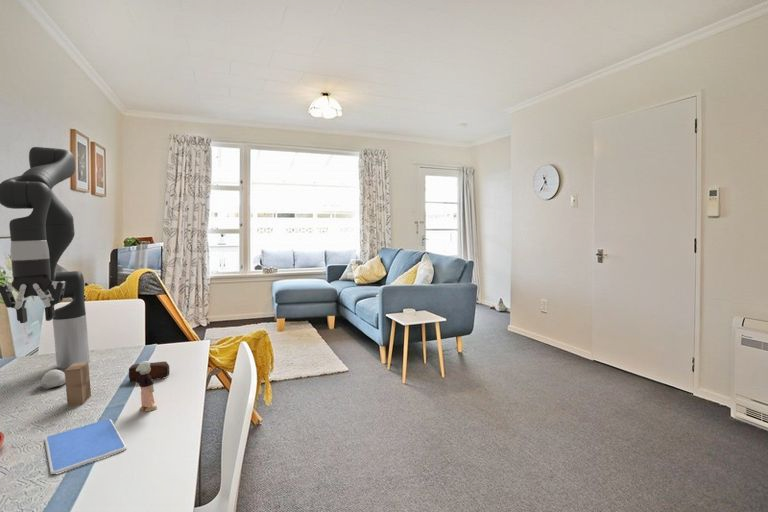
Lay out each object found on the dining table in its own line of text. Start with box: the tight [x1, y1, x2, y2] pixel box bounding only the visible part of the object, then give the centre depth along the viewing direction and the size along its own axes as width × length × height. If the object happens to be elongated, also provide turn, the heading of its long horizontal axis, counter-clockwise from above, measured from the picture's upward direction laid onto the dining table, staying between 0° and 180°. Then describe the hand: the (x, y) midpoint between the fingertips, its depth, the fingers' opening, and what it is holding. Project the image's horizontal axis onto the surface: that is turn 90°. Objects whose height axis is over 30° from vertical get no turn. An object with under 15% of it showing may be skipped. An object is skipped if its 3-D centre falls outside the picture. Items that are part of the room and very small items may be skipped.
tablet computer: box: [44, 418, 127, 475], centre depth 86 cm, size 19×13×1 cm, turn 44°
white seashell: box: [40, 369, 66, 390], centre depth 121 cm, size 9×8×5 cm
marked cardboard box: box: [64, 362, 92, 407], centre depth 108 cm, size 6×4×10 cm, turn 20°
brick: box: [128, 361, 170, 383], centre depth 125 cm, size 11×4×5 cm, turn 108°
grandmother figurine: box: [135, 360, 158, 413], centre depth 103 cm, size 8×4×13 cm, turn 71°
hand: (36, 321), depth 104 cm, fingers open, 5 cm apart
